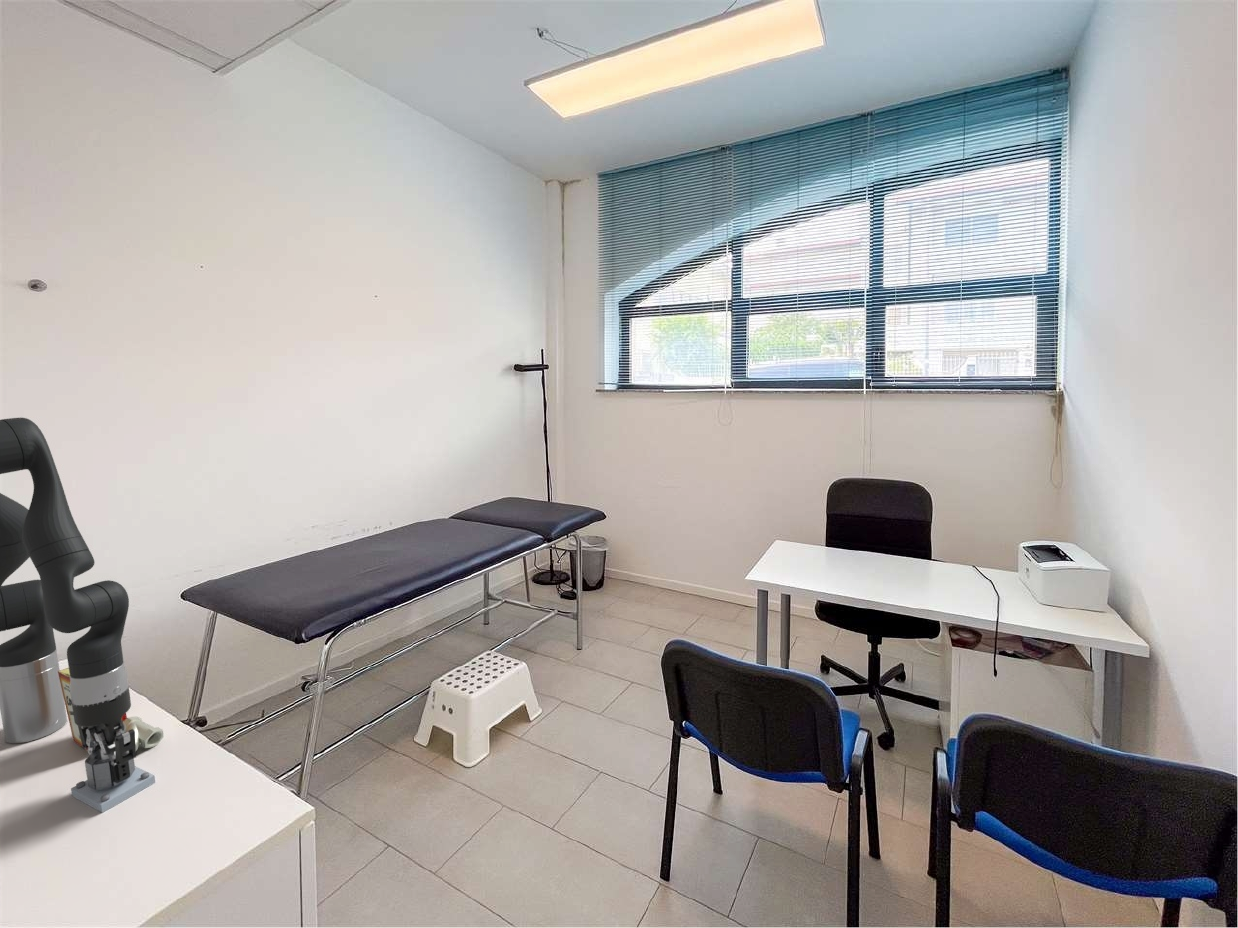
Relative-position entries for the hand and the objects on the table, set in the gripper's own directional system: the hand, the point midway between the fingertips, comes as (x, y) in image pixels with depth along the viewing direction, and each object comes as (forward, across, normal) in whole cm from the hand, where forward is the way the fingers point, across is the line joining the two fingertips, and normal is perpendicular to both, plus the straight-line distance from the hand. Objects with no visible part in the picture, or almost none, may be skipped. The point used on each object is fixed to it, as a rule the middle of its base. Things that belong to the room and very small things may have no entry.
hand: (112, 774), depth 100 cm
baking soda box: (+3, -19, +7) cm, 20 cm away
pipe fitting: (+3, -10, +8) cm, 13 cm away
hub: (+1, 0, 0) cm, 1 cm away
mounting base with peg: (+3, 0, 0) cm, 3 cm away
